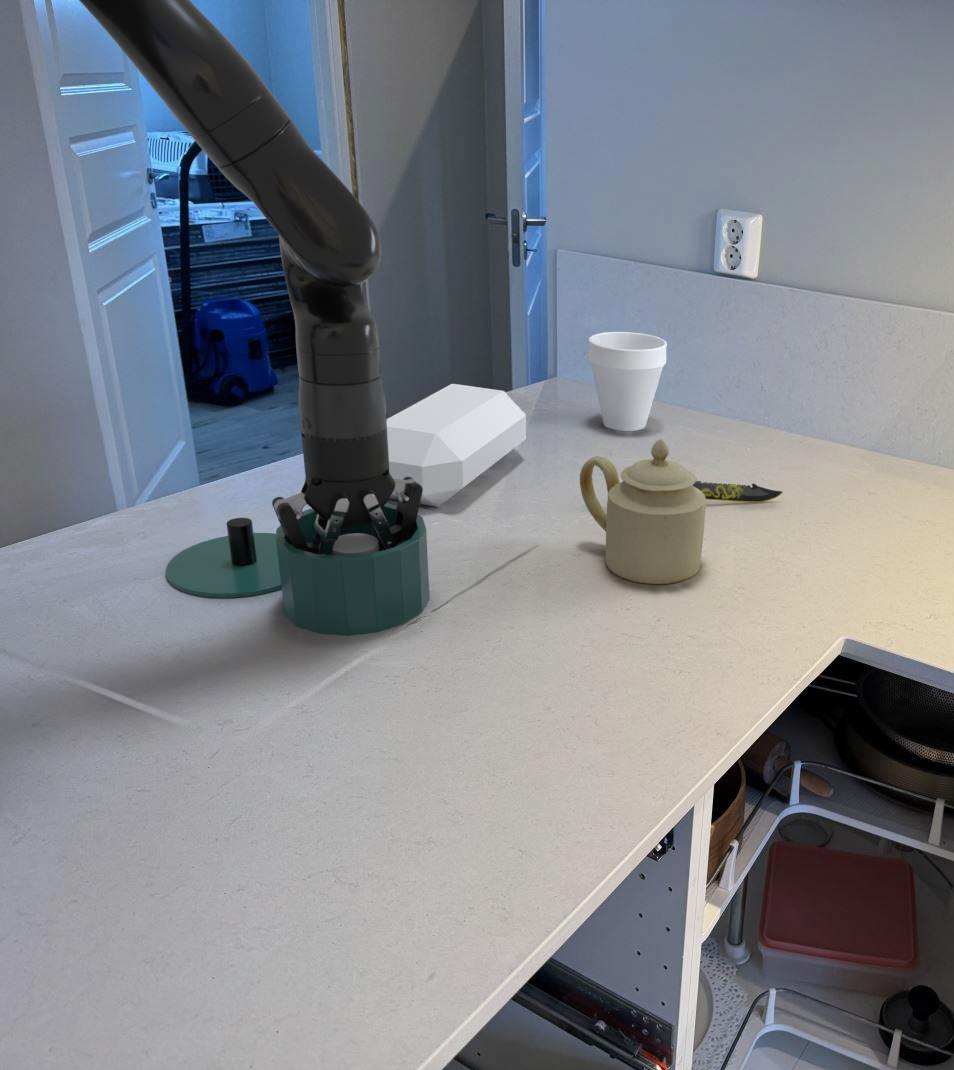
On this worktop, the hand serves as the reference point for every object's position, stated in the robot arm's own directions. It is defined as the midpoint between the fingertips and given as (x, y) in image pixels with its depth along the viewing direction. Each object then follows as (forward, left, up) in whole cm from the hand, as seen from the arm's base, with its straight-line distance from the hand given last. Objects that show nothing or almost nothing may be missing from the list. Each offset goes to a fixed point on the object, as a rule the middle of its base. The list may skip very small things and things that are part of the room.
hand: (356, 585), depth 98 cm
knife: (+18, +44, -3) cm, 48 cm away
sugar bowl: (+19, +24, -3) cm, 31 cm away
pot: (0, 0, -2) cm, 2 cm away
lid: (-15, 0, -2) cm, 15 cm away
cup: (-6, +68, -3) cm, 68 cm away
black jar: (0, 0, -2) cm, 2 cm away
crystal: (-15, +34, -3) cm, 37 cm away
